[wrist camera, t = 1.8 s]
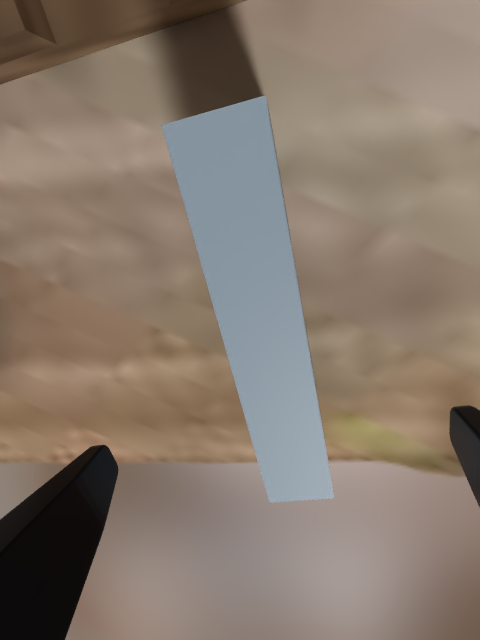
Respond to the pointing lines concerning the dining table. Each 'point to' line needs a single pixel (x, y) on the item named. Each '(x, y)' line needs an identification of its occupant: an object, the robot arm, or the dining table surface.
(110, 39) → the brown wooden bar
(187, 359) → the dining table surface
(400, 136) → the dining table surface
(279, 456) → the blue long flat plate
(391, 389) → the dining table surface
